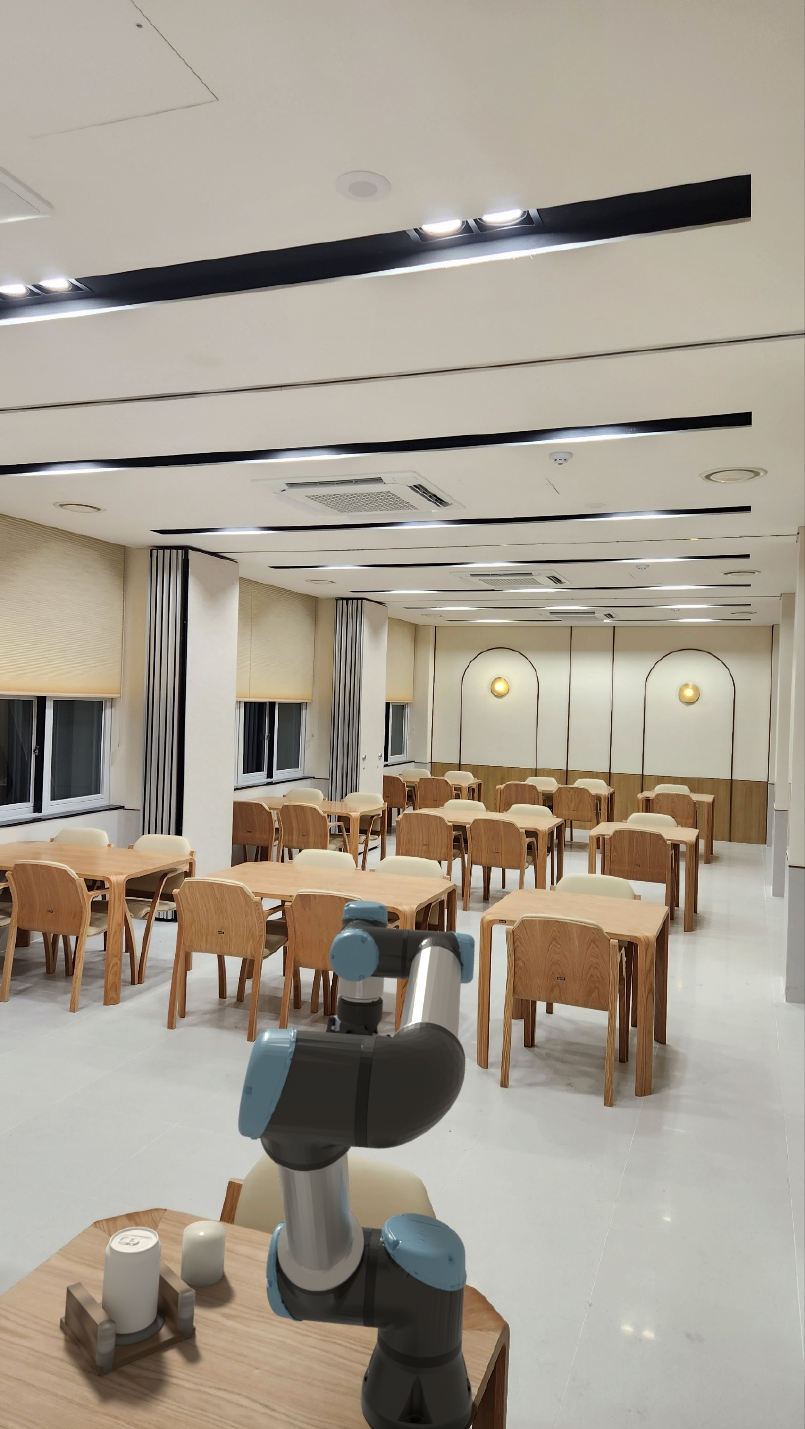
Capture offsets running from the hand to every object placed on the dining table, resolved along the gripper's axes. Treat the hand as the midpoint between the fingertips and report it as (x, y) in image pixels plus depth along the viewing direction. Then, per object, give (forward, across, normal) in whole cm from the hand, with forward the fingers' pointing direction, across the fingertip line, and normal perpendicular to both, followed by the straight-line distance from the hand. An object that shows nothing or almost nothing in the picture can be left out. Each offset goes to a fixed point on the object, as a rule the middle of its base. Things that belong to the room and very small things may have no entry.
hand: (353, 1126), depth 149 cm
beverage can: (+26, +12, +32) cm, 43 cm away
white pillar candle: (+27, +18, +16) cm, 36 cm away
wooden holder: (+27, +12, +32) cm, 43 cm away
